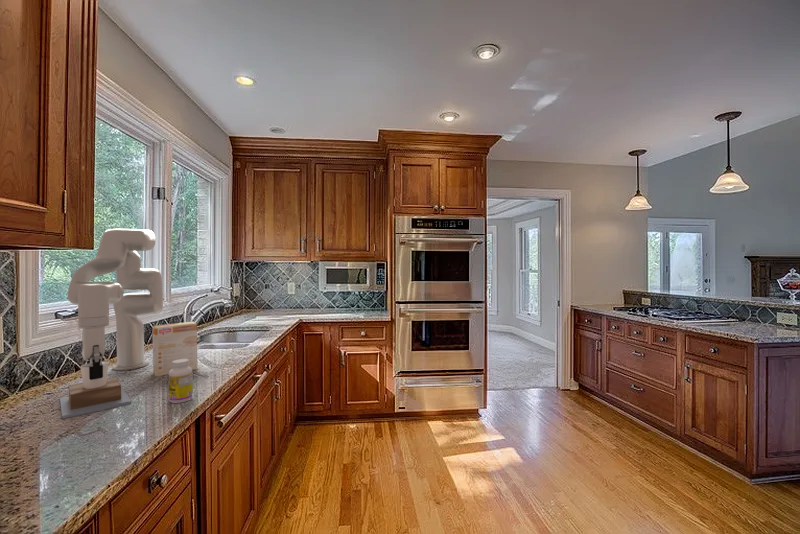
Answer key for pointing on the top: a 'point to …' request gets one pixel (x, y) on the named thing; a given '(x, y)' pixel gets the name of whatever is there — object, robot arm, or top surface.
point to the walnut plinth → (94, 394)
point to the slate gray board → (67, 412)
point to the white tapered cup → (95, 382)
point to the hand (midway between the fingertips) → (94, 375)
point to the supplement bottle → (180, 381)
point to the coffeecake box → (174, 346)
